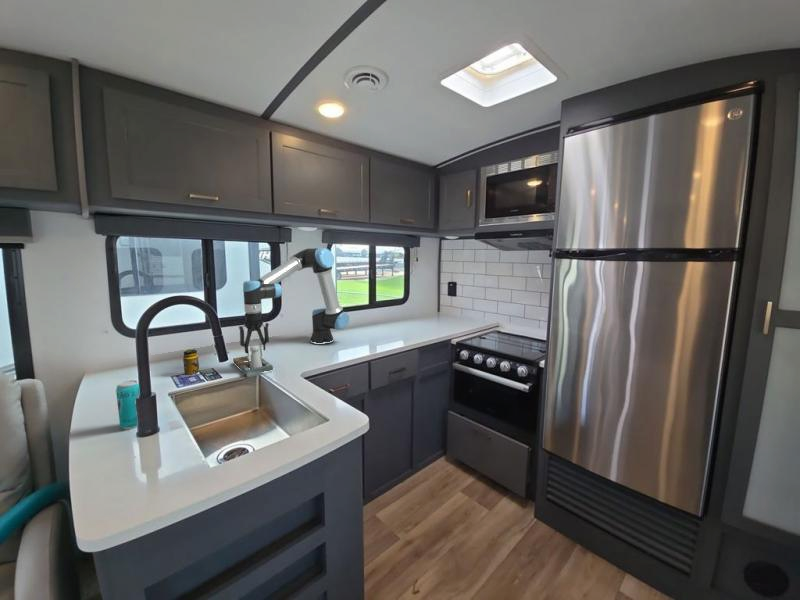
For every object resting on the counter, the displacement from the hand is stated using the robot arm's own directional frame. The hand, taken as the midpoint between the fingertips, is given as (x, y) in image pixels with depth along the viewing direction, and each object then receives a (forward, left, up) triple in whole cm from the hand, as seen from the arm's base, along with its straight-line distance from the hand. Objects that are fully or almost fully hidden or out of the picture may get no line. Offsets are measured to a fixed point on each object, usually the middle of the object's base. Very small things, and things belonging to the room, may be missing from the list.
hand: (255, 357), depth 158 cm
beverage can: (+56, -6, -7) cm, 57 cm away
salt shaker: (0, 0, -7) cm, 7 cm away
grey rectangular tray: (-4, -5, -7) cm, 9 cm away
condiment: (+12, -28, -7) cm, 31 cm away
